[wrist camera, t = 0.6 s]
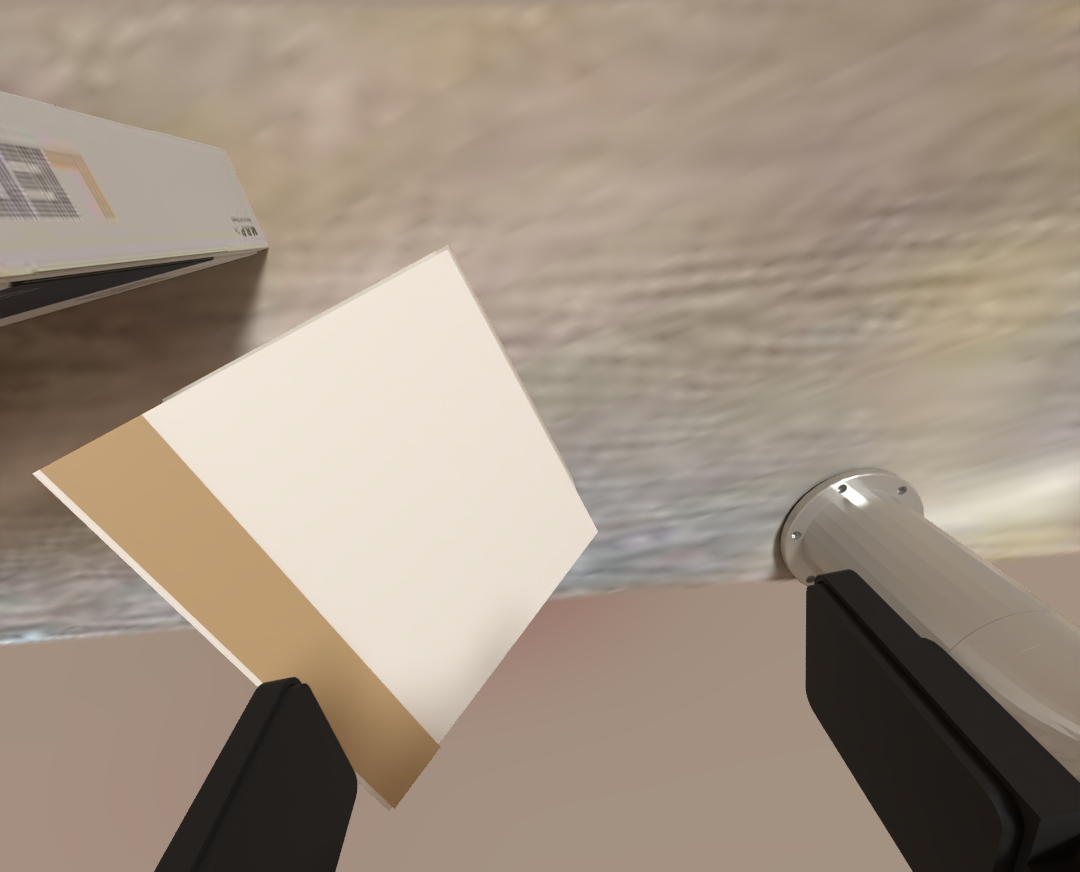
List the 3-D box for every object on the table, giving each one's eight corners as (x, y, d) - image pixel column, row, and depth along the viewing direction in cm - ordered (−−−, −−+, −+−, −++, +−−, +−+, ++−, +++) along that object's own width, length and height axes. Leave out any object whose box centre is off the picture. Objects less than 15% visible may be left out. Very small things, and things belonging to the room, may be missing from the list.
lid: (588, 530, 34) (600, 531, 33) (381, 801, 23) (391, 813, 23) (439, 253, 26) (449, 248, 26) (33, 472, 16) (31, 473, 15)
